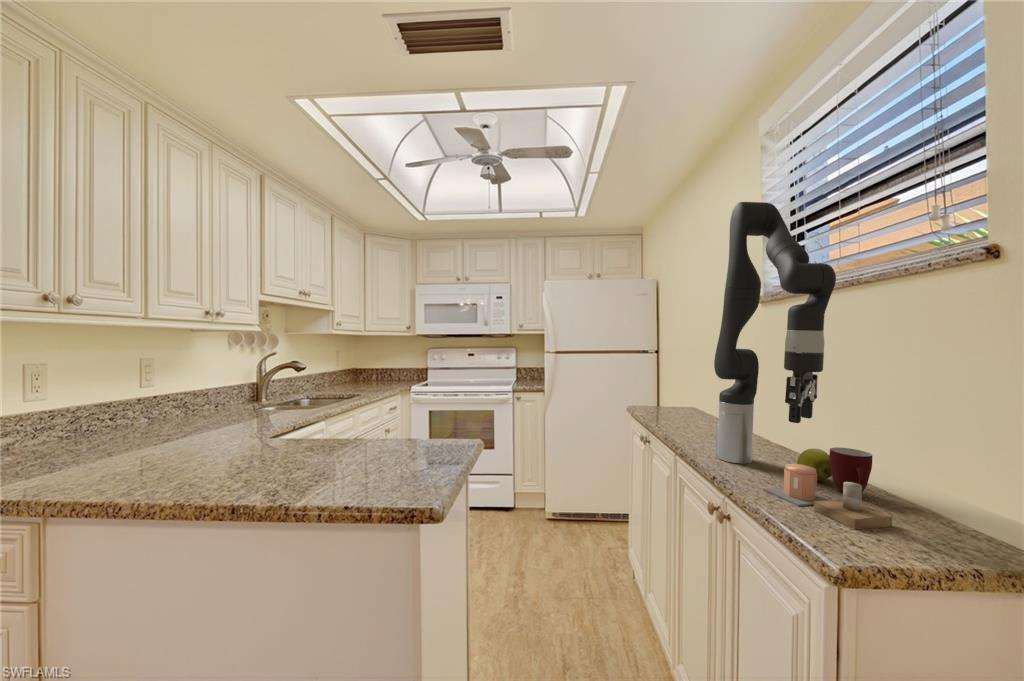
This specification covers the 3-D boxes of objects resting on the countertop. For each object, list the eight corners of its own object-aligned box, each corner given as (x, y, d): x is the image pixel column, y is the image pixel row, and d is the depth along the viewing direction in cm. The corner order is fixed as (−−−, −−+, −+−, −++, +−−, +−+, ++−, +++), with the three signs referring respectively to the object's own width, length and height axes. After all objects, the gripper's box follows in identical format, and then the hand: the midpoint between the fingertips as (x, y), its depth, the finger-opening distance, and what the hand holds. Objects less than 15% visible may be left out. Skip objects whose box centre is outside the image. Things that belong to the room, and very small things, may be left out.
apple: (820, 474, 118) (821, 445, 118) (842, 486, 109) (843, 454, 109) (790, 473, 119) (791, 444, 119) (809, 484, 110) (810, 453, 110)
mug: (887, 505, 97) (889, 460, 97) (847, 502, 98) (849, 458, 98) (856, 488, 108) (858, 448, 108) (821, 486, 109) (822, 446, 109)
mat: (763, 489, 105) (763, 488, 105) (798, 488, 107) (798, 486, 107) (798, 506, 95) (798, 504, 95) (836, 503, 97) (836, 502, 97)
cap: (789, 488, 106) (790, 462, 105) (818, 495, 101) (819, 468, 101) (780, 494, 101) (781, 466, 101) (810, 502, 97) (811, 473, 97)
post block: (813, 510, 93) (815, 478, 93) (848, 508, 95) (849, 476, 95) (854, 529, 84) (855, 493, 84) (892, 526, 86) (893, 491, 86)
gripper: (795, 348, 108) (792, 413, 109) (774, 349, 99) (771, 421, 99) (832, 350, 102) (828, 419, 103) (813, 352, 93) (810, 427, 94)
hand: (800, 420), depth 101 cm, fingers open, 8 cm apart
